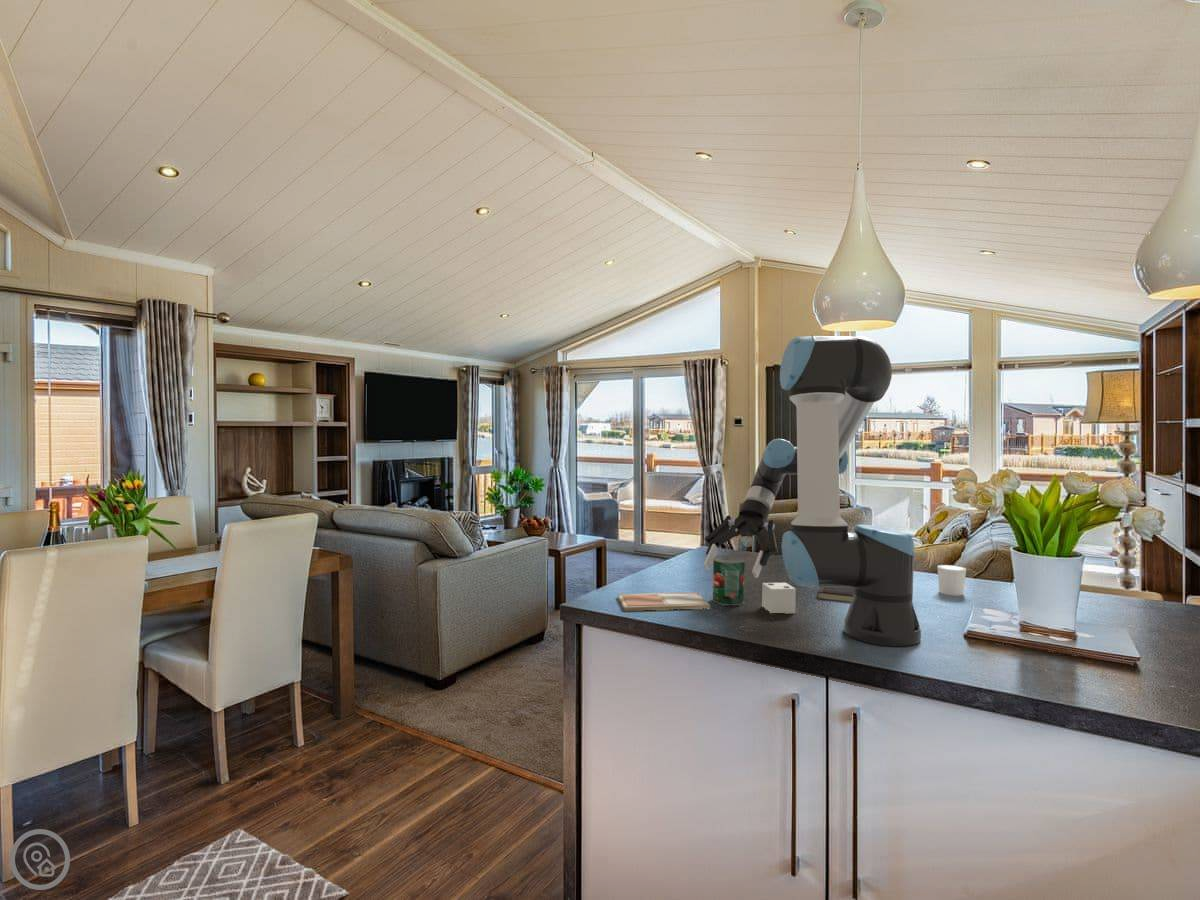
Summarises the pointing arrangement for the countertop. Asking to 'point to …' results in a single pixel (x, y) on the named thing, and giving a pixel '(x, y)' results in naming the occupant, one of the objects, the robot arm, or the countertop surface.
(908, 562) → the robot arm
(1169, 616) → the countertop surface
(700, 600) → the game board
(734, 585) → the canned tomato
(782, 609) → the die
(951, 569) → the white short cylinder
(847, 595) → the hardcover book
